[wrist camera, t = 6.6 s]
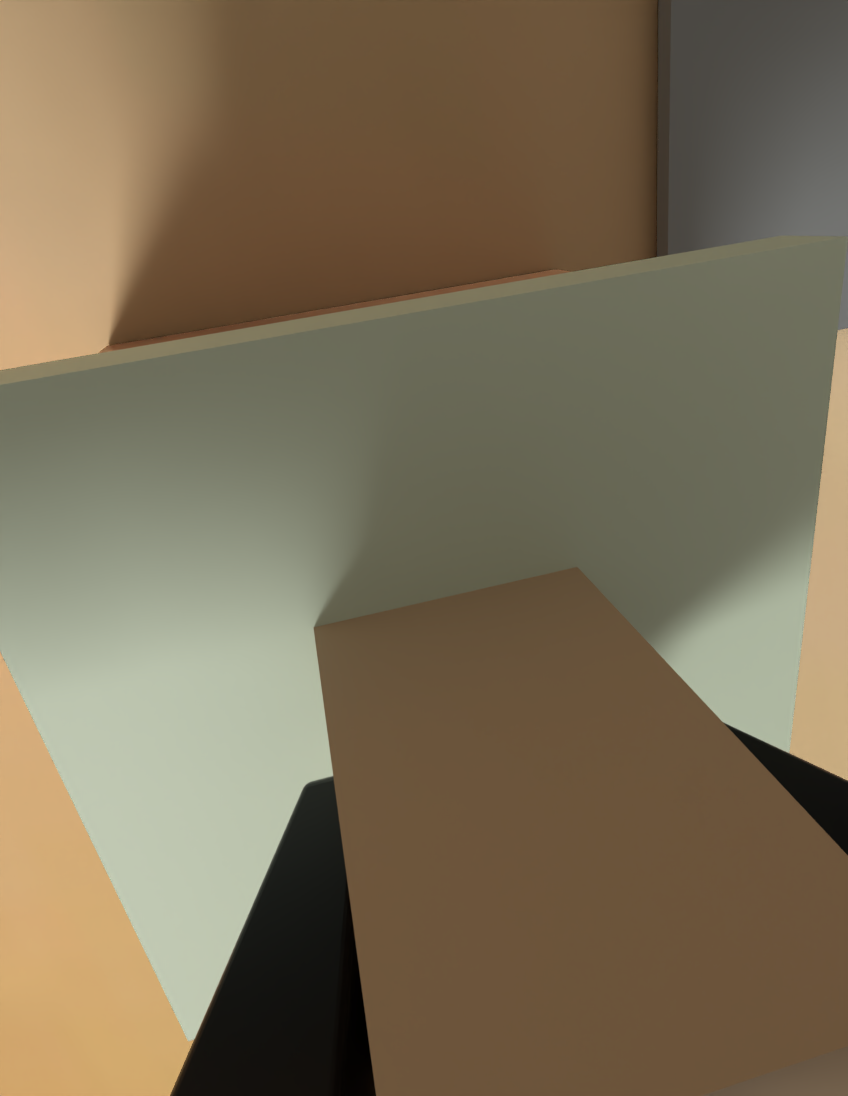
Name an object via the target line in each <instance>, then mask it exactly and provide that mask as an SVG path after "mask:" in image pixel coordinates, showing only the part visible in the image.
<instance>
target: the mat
mask: <svg viewBox="0 0 848 1096" xmlns="http://www.w3.org/2000/svg"><path fill="white" fill-rule="evenodd" d="M776 236H847V237H848V0H658V152H657V257H660V256H666V255H672V254H678V253H684V252H689V251H695V250H701V249H707V248H713V247H718V246H724V245H730V244H736V243H742V242H747V241H753V240H759V239H765V238H771V237H776ZM845 328H848V242H847V251H846V260H845V269H844V277H843V286H842V295H841V304H840V312H839V321H838V330H840V329H845Z"/></svg>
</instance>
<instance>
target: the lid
mask: <svg viewBox="0 0 848 1096" xmlns="http://www.w3.org/2000/svg"><path fill="white" fill-rule="evenodd" d="M847 242H848V237H847V236H776V237H771V238H765V239H759V240H753V241H747V242H742V243H736V244H730V245H724V246H718V247H713V248H707V249H701V250H695V251H689V252H684V253H678V254H672V255H666V256H660V257H655V258H649V259H643V260H637V261H631V262H626V263H620V264H614V265H608V266H602V267H597V268H591V269H585V270H579V271H573V272H568V273H562V274H556V275H550V276H544V277H539V278H533V279H527V280H521V281H515V282H510V283H504V284H498V285H492V286H486V287H481V288H475V289H469V290H463V291H457V292H452V293H446V294H440V295H434V296H428V297H423V298H417V299H411V300H405V301H399V302H394V303H388V304H382V305H376V306H370V307H365V308H359V309H353V310H347V311H341V312H336V313H330V314H324V315H318V316H312V317H307V318H301V319H295V320H289V321H283V322H278V323H272V324H266V325H260V326H254V327H249V328H243V329H237V330H231V331H225V332H220V333H214V334H208V335H202V336H196V337H191V338H185V339H179V340H173V341H167V342H162V343H156V344H150V345H144V346H138V347H133V348H127V349H121V350H115V351H109V352H104V353H98V354H92V355H86V356H80V357H75V358H69V359H63V360H57V361H51V362H46V363H40V364H34V365H28V366H22V367H17V368H11V369H5V370H0V652H1V654H2V656H3V658H4V660H5V662H6V664H7V666H8V669H9V671H10V673H11V675H12V677H13V679H14V681H15V683H16V685H17V687H18V689H19V691H20V693H21V696H22V698H23V700H24V702H25V704H26V706H27V708H28V710H29V712H30V714H31V716H32V718H33V720H34V722H35V725H36V727H37V729H38V731H39V733H40V735H41V737H42V739H43V741H44V743H45V745H46V747H47V749H48V752H49V754H50V756H51V758H52V760H53V762H54V764H55V766H56V768H57V770H58V772H59V774H60V776H61V778H62V781H63V783H64V785H65V787H66V789H67V791H68V793H69V795H70V797H71V799H72V801H73V803H74V805H75V808H76V810H77V812H78V814H79V816H80V818H81V820H82V822H83V824H84V826H85V828H86V830H87V832H88V834H89V837H90V839H91V841H92V843H93V845H94V847H95V849H96V851H97V853H98V855H99V857H100V859H101V861H102V863H103V866H104V868H105V870H106V872H107V874H108V876H109V878H110V880H111V882H112V884H113V886H114V888H115V890H116V893H117V895H118V897H119V899H120V901H121V903H122V905H123V907H124V909H125V911H126V913H127V915H128V917H129V919H130V922H131V924H132V926H133V928H134V930H135V932H136V934H137V936H138V938H139V940H140V942H141V944H142V946H143V949H144V951H145V953H146V955H147V957H148V959H149V961H150V963H151V965H152V967H153V969H154V971H155V973H156V975H157V978H158V980H159V982H160V984H161V986H162V988H163V990H164V992H165V994H166V996H167V998H168V1000H169V1002H170V1005H171V1007H172V1009H173V1011H174V1013H175V1015H176V1017H177V1019H178V1021H179V1023H180V1025H181V1027H182V1029H183V1031H184V1034H185V1036H186V1038H187V1040H188V1041H191V1040H194V1039H195V1037H196V1035H197V1032H198V1030H199V1028H200V1025H201V1023H202V1021H203V1018H204V1016H205V1014H206V1011H207V1009H208V1007H209V1004H210V1002H211V1000H212V997H213V995H214V993H215V991H216V988H217V986H218V984H219V981H220V979H221V977H222V974H223V972H224V970H225V967H226V965H227V963H228V960H229V958H230V956H231V954H232V951H233V949H234V947H235V944H236V942H237V940H238V937H239V935H240V933H241V930H242V928H243V926H244V923H245V921H246V919H247V917H248V914H249V912H250V910H251V907H252V905H253V903H254V900H255V898H256V896H257V893H258V891H259V889H260V886H261V884H262V882H263V879H264V877H265V875H266V873H267V870H268V868H269V866H270V863H271V861H272V859H273V856H274V854H275V852H276V849H277V847H278V845H279V842H280V840H281V838H282V836H283V833H284V831H285V829H286V826H287V824H288V822H289V819H290V817H291V815H292V812H293V810H294V808H295V805H296V803H297V801H298V798H299V796H300V794H301V792H302V790H303V788H304V786H305V785H306V784H307V783H309V782H311V781H315V780H318V779H322V778H326V777H330V776H333V778H334V785H335V793H336V800H337V807H338V815H339V822H340V830H341V837H342V845H343V852H344V860H345V867H346V875H347V882H348V890H349V897H350V904H351V912H352V919H353V927H354V934H355V942H356V949H357V957H358V964H359V972H360V979H361V987H362V994H363V1001H364V1009H365V1016H366V1024H367V1031H368V1039H369V1046H370V1054H371V1061H372V1069H373V1076H374V1084H375V1091H376V1096H848V855H847V854H846V853H845V852H844V851H843V850H842V849H841V848H840V847H839V846H838V845H837V844H836V842H835V841H834V840H833V839H832V838H831V837H830V836H829V835H828V834H827V833H826V832H825V831H824V830H823V829H822V827H821V826H820V825H819V824H818V823H817V822H816V821H815V820H814V819H813V818H812V817H811V816H810V815H809V814H808V813H807V811H806V810H805V809H804V808H803V807H802V806H801V805H800V804H799V803H798V802H797V801H796V800H795V799H794V798H793V797H792V795H791V794H790V793H789V792H788V791H787V790H786V789H785V788H784V787H783V786H782V785H781V784H780V783H779V782H778V781H777V779H776V778H775V777H774V776H773V775H772V774H771V773H770V772H769V771H768V770H767V769H766V768H765V767H764V766H763V765H762V763H761V762H760V761H759V760H758V759H757V758H756V757H755V756H754V755H753V754H752V753H751V752H750V751H749V750H748V749H747V747H746V746H745V745H744V744H743V743H742V742H741V741H740V740H739V739H738V738H737V737H736V736H735V735H734V734H733V732H732V731H731V730H730V729H729V728H728V727H727V726H726V725H725V724H724V723H726V724H728V725H730V726H732V727H734V728H737V729H739V730H741V731H743V732H745V733H747V734H749V735H752V736H754V737H756V738H758V739H760V740H762V741H764V742H766V743H769V744H771V745H773V746H775V747H777V748H779V749H781V750H783V751H786V752H788V753H789V750H790V742H791V733H792V724H793V715H794V707H795V698H796V689H797V680H798V672H799V663H800V654H801V645H802V636H803V628H804V619H805V610H806V601H807V593H808V584H809V575H810V566H811V558H812V549H813V540H814V531H815V523H816V514H817V505H818V496H819V488H820V479H821V470H822V461H823V453H824V444H825V435H826V426H827V418H828V409H829V400H830V391H831V382H832V374H833V365H834V356H835V347H836V339H837V330H838V321H839V312H840V304H841V295H842V286H843V277H844V269H845V260H846V251H847ZM723 722H724V723H723Z"/></svg>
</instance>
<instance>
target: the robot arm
mask: <svg viewBox="0 0 848 1096" xmlns="http://www.w3.org/2000/svg"><path fill="white" fill-rule="evenodd" d="M723 723H724V722H723ZM724 724H725V725H726V726H727V727H728V728H729V729H730V730H731V731H732V732H733V734H734V735H735V736H736V737H737V738H738V739H739V740H740V741H741V742H742V743H743V744H744V745H745V746H746V747H747V749H748V750H749V751H750V752H751V753H752V754H753V755H754V756H755V757H756V758H757V759H758V760H759V761H760V762H761V763H762V765H763V766H764V767H765V768H766V769H767V770H768V771H769V772H770V773H771V774H772V775H773V776H774V777H775V778H776V779H777V781H778V782H779V783H780V784H781V785H782V786H783V787H784V788H785V789H786V790H787V791H788V792H789V793H790V794H791V795H792V797H793V798H794V799H795V800H796V801H797V802H798V803H799V804H800V805H801V806H802V807H803V808H804V809H805V810H806V811H807V813H808V814H809V815H810V816H811V817H812V818H813V819H814V820H815V821H816V822H817V823H818V824H819V825H820V826H821V827H822V829H823V830H824V831H825V832H826V833H827V834H828V835H829V836H830V837H831V838H832V839H833V840H834V841H835V842H836V844H837V845H838V846H839V847H840V848H841V849H842V850H843V851H844V852H845V853H846V854H847V855H848V781H847V780H845V779H843V778H841V777H839V776H837V775H835V774H832V773H830V772H828V771H826V770H824V769H822V768H820V767H818V766H815V765H813V764H811V763H809V762H807V761H805V760H803V759H800V758H798V757H796V756H794V755H792V754H790V753H788V752H786V751H783V750H781V749H779V748H777V747H775V746H773V745H771V744H769V743H766V742H764V741H762V740H760V739H758V738H756V737H754V736H752V735H749V734H747V733H745V732H743V731H741V730H739V729H737V728H734V727H732V726H730V725H728V724H726V723H724ZM170 1096H376V1091H375V1084H374V1076H373V1069H372V1061H371V1054H370V1046H369V1039H368V1031H367V1024H366V1016H365V1009H364V1001H363V994H362V987H361V979H360V972H359V964H358V957H357V949H356V942H355V934H354V927H353V919H352V912H351V904H350V897H349V890H348V882H347V875H346V867H345V860H344V852H343V845H342V837H341V830H340V822H339V815H338V807H337V800H336V793H335V785H334V778H333V776H330V777H326V778H322V779H318V780H315V781H311V782H309V783H307V784H306V785H305V786H304V788H303V790H302V792H301V794H300V796H299V798H298V801H297V803H296V805H295V808H294V810H293V812H292V815H291V817H290V819H289V822H288V824H287V826H286V829H285V831H284V833H283V836H282V838H281V840H280V842H279V845H278V847H277V849H276V852H275V854H274V856H273V859H272V861H271V863H270V866H269V868H268V870H267V873H266V875H265V877H264V879H263V882H262V884H261V886H260V889H259V891H258V893H257V896H256V898H255V900H254V903H253V905H252V907H251V910H250V912H249V914H248V917H247V919H246V921H245V923H244V926H243V928H242V930H241V933H240V935H239V937H238V940H237V942H236V944H235V947H234V949H233V951H232V954H231V956H230V958H229V960H228V963H227V965H226V967H225V970H224V972H223V974H222V977H221V979H220V981H219V984H218V986H217V988H216V991H215V993H214V995H213V997H212V1000H211V1002H210V1004H209V1007H208V1009H207V1011H206V1014H205V1016H204V1018H203V1021H202V1023H201V1025H200V1028H199V1030H198V1032H197V1035H196V1037H195V1039H194V1041H193V1044H192V1046H191V1048H190V1051H189V1053H188V1055H187V1058H186V1060H185V1062H184V1065H183V1067H182V1069H181V1072H180V1074H179V1076H178V1078H177V1081H176V1083H175V1085H174V1088H173V1090H172V1092H171V1095H170Z"/></svg>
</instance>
